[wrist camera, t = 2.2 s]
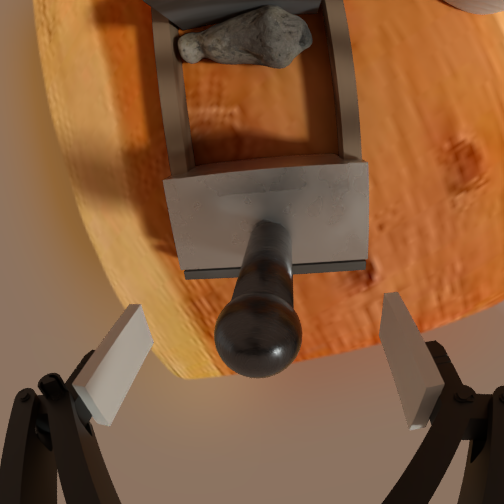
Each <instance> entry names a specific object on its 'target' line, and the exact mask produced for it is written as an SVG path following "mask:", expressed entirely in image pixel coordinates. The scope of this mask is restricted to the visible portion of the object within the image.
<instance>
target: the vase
mask: <svg viewBox="0 0 504 504" xmlns="http://www.w3.org/2000/svg"><path fill="white" fill-rule="evenodd" d="M444 1H445V2H447V3H448V4H450V5H452V6H454V7H456V8H458V9H461V10H463V11H466V12H469V13H473V14H480V15H485V14H493V13H497V12H501V11H504V0H444Z"/></svg>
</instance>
